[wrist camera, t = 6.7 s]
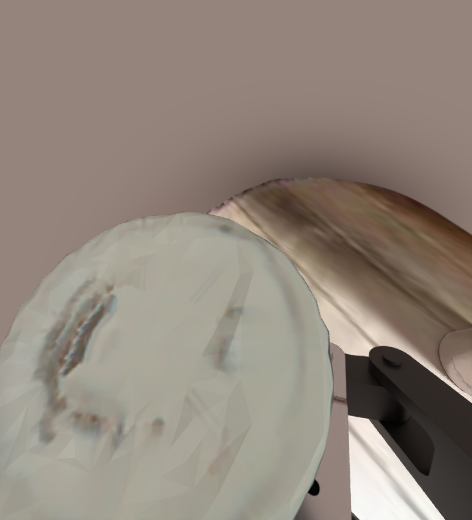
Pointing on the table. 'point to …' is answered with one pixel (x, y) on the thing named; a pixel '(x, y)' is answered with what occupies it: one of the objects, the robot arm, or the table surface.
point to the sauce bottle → (165, 380)
